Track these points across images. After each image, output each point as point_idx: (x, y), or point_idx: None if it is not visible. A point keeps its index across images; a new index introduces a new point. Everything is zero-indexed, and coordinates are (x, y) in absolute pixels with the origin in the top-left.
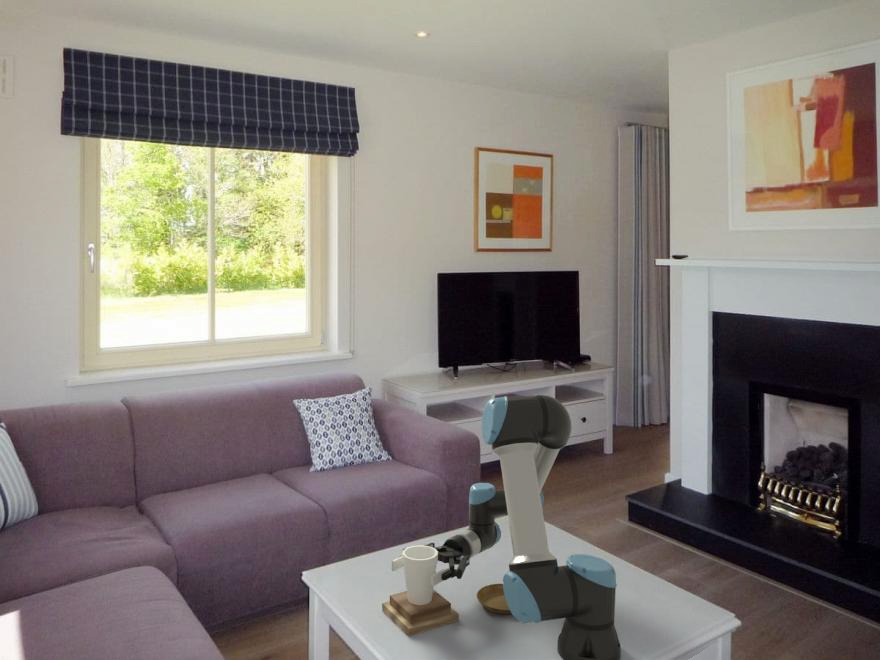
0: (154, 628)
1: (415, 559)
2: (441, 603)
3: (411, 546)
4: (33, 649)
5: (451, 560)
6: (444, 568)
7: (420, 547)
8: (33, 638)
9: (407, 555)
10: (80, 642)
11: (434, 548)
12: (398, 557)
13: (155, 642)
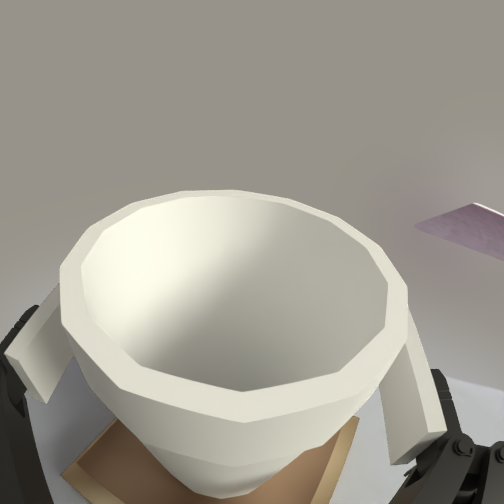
0: (479, 236)
1: (205, 192)
2: (114, 452)
3: (406, 313)
4: (474, 205)
5: (3, 486)
6: (32, 337)
7: (342, 371)
8: (489, 212)
9: (354, 302)
10: (474, 214)
11: (127, 385)
12: (440, 374)
13: (453, 224)
